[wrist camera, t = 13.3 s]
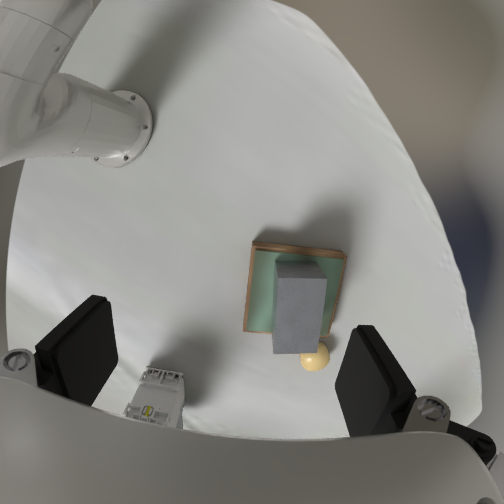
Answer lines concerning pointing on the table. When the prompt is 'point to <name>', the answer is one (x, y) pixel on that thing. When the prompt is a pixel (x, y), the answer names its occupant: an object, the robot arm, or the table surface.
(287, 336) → the block
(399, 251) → the table surface
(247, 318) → the green board with frame
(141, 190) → the table surface
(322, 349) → the cream dome
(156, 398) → the circuit breaker
